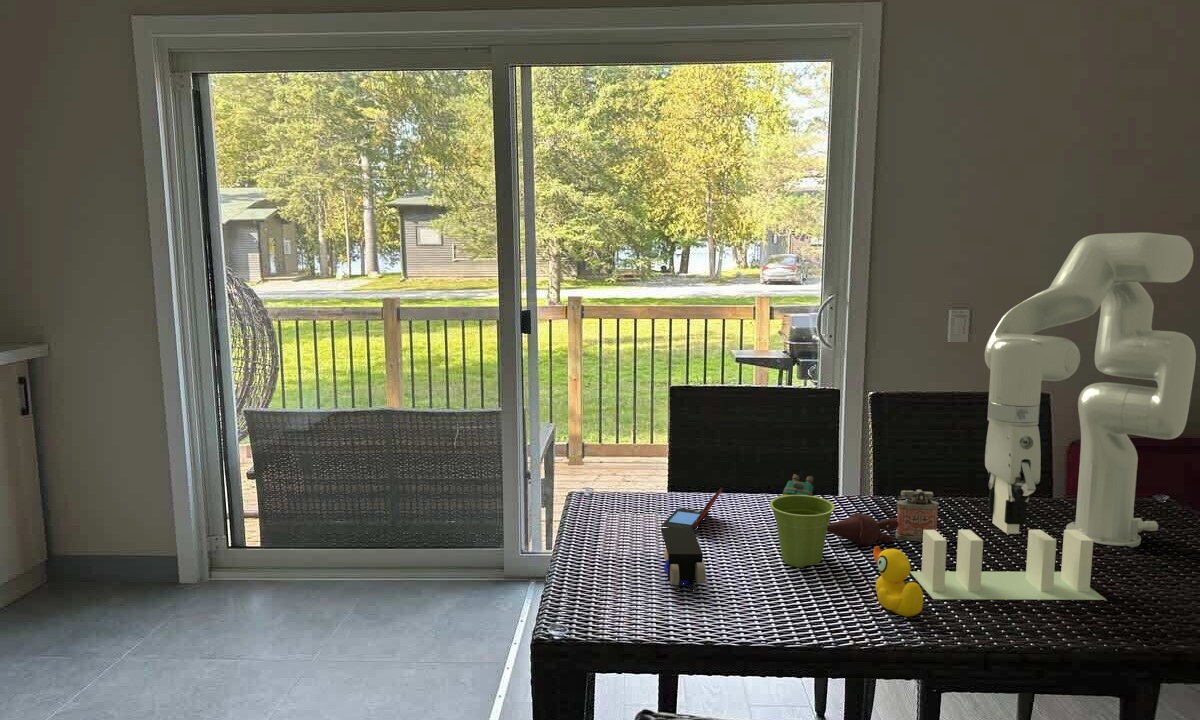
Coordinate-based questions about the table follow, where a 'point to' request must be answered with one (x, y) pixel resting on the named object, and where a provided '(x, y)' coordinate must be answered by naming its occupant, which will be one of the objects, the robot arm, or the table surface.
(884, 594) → the duckling
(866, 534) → the icecream
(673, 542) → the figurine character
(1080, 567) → the domino
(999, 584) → the board
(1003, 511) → the domino
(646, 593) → the table surface
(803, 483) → the binoculars
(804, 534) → the plant pot
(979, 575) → the domino
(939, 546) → the domino
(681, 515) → the handheld game console
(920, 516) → the lighter
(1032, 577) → the domino
